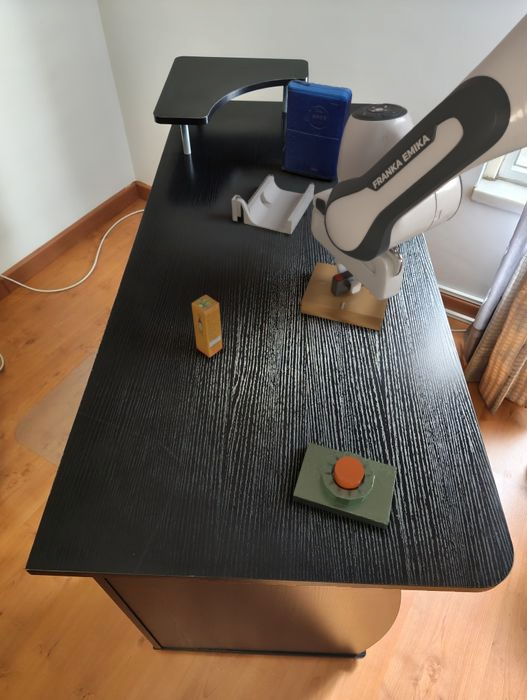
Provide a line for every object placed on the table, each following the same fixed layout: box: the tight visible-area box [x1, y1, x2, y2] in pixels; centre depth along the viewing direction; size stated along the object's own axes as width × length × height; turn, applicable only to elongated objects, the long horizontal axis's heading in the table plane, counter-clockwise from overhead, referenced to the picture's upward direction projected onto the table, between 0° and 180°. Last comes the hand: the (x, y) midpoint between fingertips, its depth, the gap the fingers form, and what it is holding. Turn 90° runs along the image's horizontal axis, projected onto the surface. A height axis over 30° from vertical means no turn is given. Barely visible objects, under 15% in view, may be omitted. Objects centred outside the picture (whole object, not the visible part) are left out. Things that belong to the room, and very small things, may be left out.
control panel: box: [300, 261, 389, 331], centre depth 85 cm, size 14×11×3 cm
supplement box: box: [191, 294, 224, 358], centre depth 75 cm, size 3×3×10 cm
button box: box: [292, 442, 398, 530], centre depth 62 cm, size 12×8×4 cm, turn 72°
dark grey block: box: [331, 271, 363, 297], centre depth 82 cm, size 6×2×4 cm, turn 119°
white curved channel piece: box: [231, 175, 315, 235], centre depth 103 cm, size 15×13×5 cm
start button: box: [333, 457, 364, 489], centre depth 60 cm, size 4×4×2 cm
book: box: [281, 79, 353, 181], centre depth 107 cm, size 14×5×20 cm, turn 67°
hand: (348, 284), depth 83 cm, fingers closed on dark grey block, 2 cm apart
